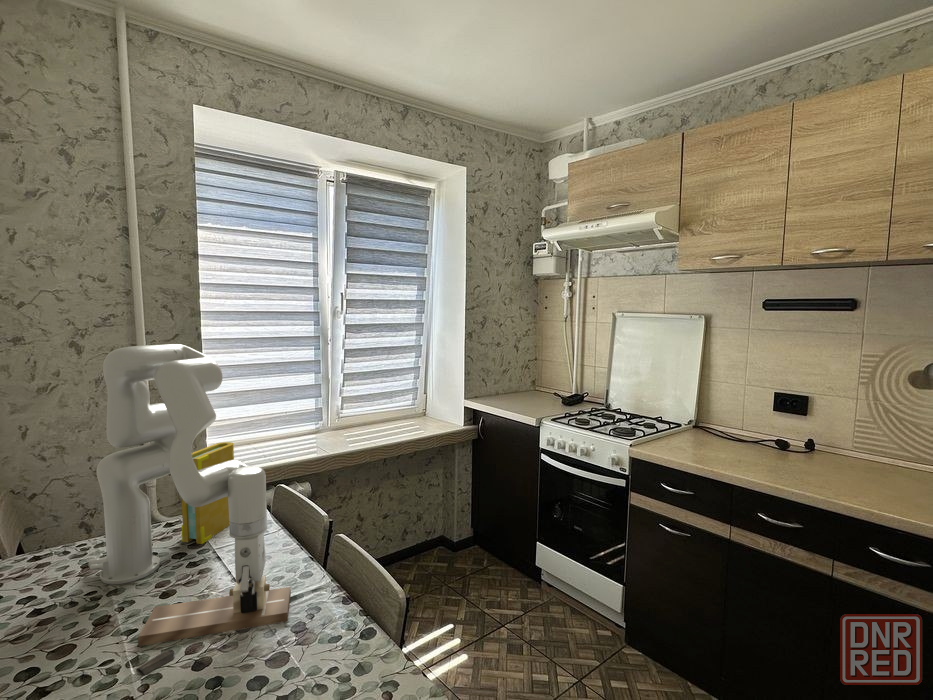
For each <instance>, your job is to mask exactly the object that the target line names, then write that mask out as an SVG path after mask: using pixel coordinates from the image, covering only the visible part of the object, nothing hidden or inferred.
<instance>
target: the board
mask: <svg viewBox="0 0 933 700" xmlns="http://www.w3.org/2000/svg"><path fill="white" fill-rule="evenodd" d="M291 587H292V586H286V587H279V588H273V589H269V591H266V600H265V604H264V609H259V610H256V611H253V612H247V613H241V612H239V613H233V596H229V595H226V596H218V597H213V598H207V599H206V598H205V599H199V600H192V601H187V602H185V601H184V602H179V603H173V604H165V605H159V606H158V605H157V606H154V608H153V610H152V611H151V613H150V615H149V617H148V619H147V620H146V622H145V623H144V626H143V627H142V629H141V631H140V632H139V635H138V636H137V640H138V641H137V642H138V643H137V644H138V647H142V646H147V645H154V644H159V643H164V642H171V641H177V640H183V639H190V638H195V637H196V638H197V637H200V636H201V637H202V636H208V635H214V634H219V633H225V632H226V633H227V632H232V631H236V630H237V631H239V630H243V629H249V628H256V627H261V626H267V625H273V624H279V623H285V622H288V621H289V613H290V612H289V611H290V604H291V597H292V595H291V590H292V589H291Z"/></svg>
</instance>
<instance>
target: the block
mask: <svg viewBox="0 0 933 700" xmlns="http://www.w3.org/2000/svg"><path fill="white" fill-rule="evenodd" d="M175 653H176V652H175V651H174V650H173V649H170V648H169V649H166V650H164V651H163V652H161V653H159V654H158V655H156V656H154V657H153V658H151V659H150V660H147V661H146V662H144V663H143V664H142V665H140V666H137V667H136V668H135V670H136V671H137V672H138V673H140V674H141V675H142V676H146V675H148V674H150V673H151V672H153V671H156V670H157V669H159V668H161V667H162V666H163V667H164V665H166V664H168V663H170V662H172V661H174V660H175V656H176V655H175Z"/></svg>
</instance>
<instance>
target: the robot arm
mask: <svg viewBox="0 0 933 700" xmlns="http://www.w3.org/2000/svg"><path fill="white" fill-rule="evenodd" d="M102 375H103V379H104V383H105V385H106V391H107V401H106V402H107V404H106V405H107V406H106V408H107V409H106V430H105V431H106V439H107V441H108V443H109V444H110V445H111V446H112V447H114V448H119V449H121V448H126V449H122V450H119V451H115V452H113V453H110V454H108V455H105V457H103V458H102V459H101V460H100V461H99V462H98V464H97V466H96V477H97V480H98V484H99V486H100V491H101V496H102V502H103V518H104V530H105V544H106V545H105V548H106V549H105V550H106V556H105V555H104V557H97V558H90V559H89V561H88V568H89V571H97V570H101V572H100V573H99V579H100V581H101V582H102V583H104V584H108V585H121V584H128V583H132V582H135V581H138V580H141V579H143V578H145V577H148V576H149V575H151V574H153V573H154V572H155V571H156V570H158V569H159V567H160V565H161V559H160V558H159V557H158V556H157V555H154V554H153V540H152V539H153V538H152V537H153V536H152V520H151V519H152V518H151V516H152V515H151V502H150V498H149V496H148V495H147V494H146V493H145V492H143V490H141V488H140V485H144V484H146V483H148V482H151V481H155V480H157V479H161V478H163V477H166V476H168V475H170V476H171V479H172V481H173V483H174V486H175V489H176V490H177V492H178V494H179V496H180V498H181V500H182V499H183V500H184V501H185V502H186V503H187V504H188V505H190V506H193V507H201V506H204V505H207V504H209V503H212V502H214V501H216V500H219V499H221V498H224V497H227V496H228V506H229V526H228V528H229V530H228V531H229V537H230V538H233V539H234V566H235V567H234V571H235V583H237V584H240V583H241V595H240V606H241V613H247V612H253V611H256V610H257V592H255V581H257V582H259V581H260V580H261V578H262V576H264V575H263V574H264V571H265V566H266V561H267V560H266V558H267V557H266V546H265V532H266V531H267V530H268V514H267V511H268V509H267V508H268V507H267V481H266V479H267V476H266V471H265V470H264V468H262V467H260V466H254V465H253V466H252V465H249V464H246V463H245V462H243V461H241V460H238V459H234V460H229V461H225V462H222V463H219V464H216V465H212V466H209V467H206V468H203V469H200V470H197V468H196V465H195V463H194V461H193V458H192V453H193V452H192V450H193V443H194V441H195V439H196V438H197V436H198V435H199V434H201V433H202V432H203V431H205V430H206V429H208V428H209V427H210V426H211V425H213V423H214V422H215V421H216V418H217V413H216V411H215V410H214V408H213V405H212V403H211V401H210V399H209V397H208V395H207V392H212V391H215V390H217V389H218V388H220V387H221V385H222V382H223V372H222V370H221V367H220V365H219V364H218V363H217V362H216V361H215V360H214V359H213V358H211V357H210V356H208V355H207V354H204V353H202V352H200V351H198V350H196V349H194V348H192V347H190V346H187V345H184V344H181V343H179V344H178V343H168V344H167V343H166V344H165V343H163V344H152V345H151V344H148V345H144V344H143V345H134V346H133V345H132V346H126V347H125V346H124V347H121V348H116V349H114V350H112V351H110V352H108V354H107V355H106V356H105V358H104V360H103V364H102ZM147 381H154V384H155V386H156V389H157V391H158V393H159V396H160V397H161V400H162V402H158V403H157V402H156V403H151V404H150V398H151V394H150V389H149V387H148V386H147V384H146V383H145V382H147ZM142 444H143V445H142ZM138 445H139V446H138ZM134 446H135V447H134ZM249 578H252V579H249ZM249 583H252V588H251V586H250V587H249Z"/></svg>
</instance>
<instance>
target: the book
mask: <svg viewBox="0 0 933 700" xmlns="http://www.w3.org/2000/svg"><path fill="white" fill-rule="evenodd" d="M234 452H235V449H234V443H233V442H230V441H226V442H225V441H223V442H218V443H215V444H214V443H213V444H212V445H209V446H206V447H204V448H201V449H198V450H195V451H193V452H192V458H193V461H194V463H195V465H196V468H197V470H200V469H203V468H206V467H209V466H212V465H216V464H219V463H222V462H225V461H229V460H235V454H234ZM181 514H182V525H181V542H183V543H189V542H191V541H193V540H196V544H197V545H198V544H199V545H203V544H205V543H206V542H208V541H209V540H211V539H213V537H214V536H216V535H217V534H219V533H220V532H223V530H224V529H227V528H229V506H228V496H227V497H224V498H221V499H219V500H216V501H214V502H212V503H209V504H207V505H204V506H201V507H193V506H190V505H188V504H187V503H186V502H185V501H184V500H183V499H182V498H181Z"/></svg>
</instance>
